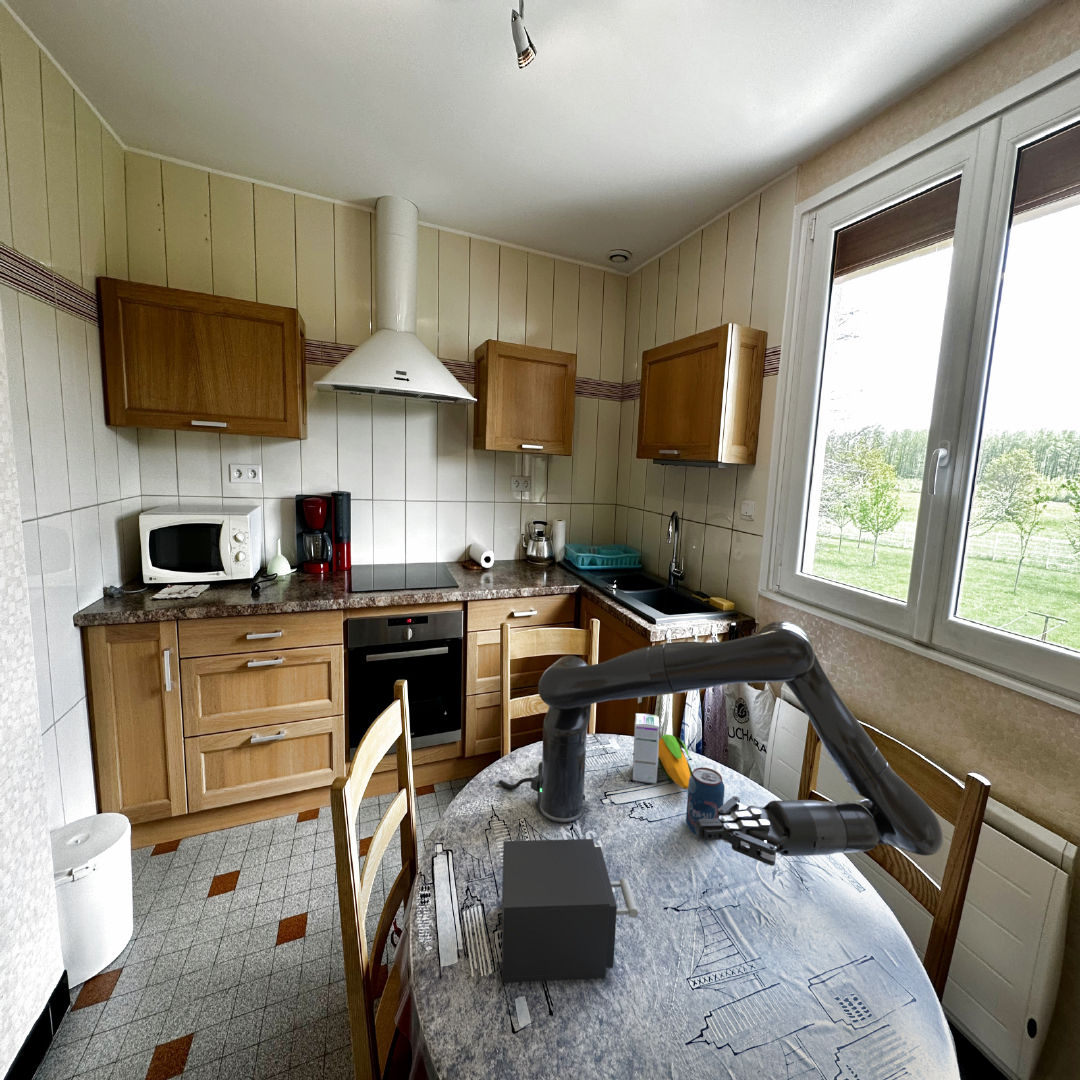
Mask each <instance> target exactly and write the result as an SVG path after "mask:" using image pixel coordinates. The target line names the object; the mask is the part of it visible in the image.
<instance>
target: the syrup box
mask: <svg viewBox="0 0 1080 1080" xmlns="http://www.w3.org/2000/svg"><path fill="white" fill-rule="evenodd" d="M633 734H634V735H633V736H634V737H633V755H632V757H633V758H632V759H633V760H632V780H633V781H635V782H640V783H647V784H655V785H656V784H657V780H658V767H659V766H658V765H659V761H658V749H659V740H660V717H659V715H656V714H650V713H638V712H637V713H635V719H634V733H633Z"/></svg>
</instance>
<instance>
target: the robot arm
mask: <svg viewBox="0 0 1080 1080" xmlns="http://www.w3.org/2000/svg"><path fill="white" fill-rule="evenodd" d="M744 683H745V684H747V683H749V684H751V683H785V685H786V686H787V687H788V689H790V691H791V692H792V693H793V695H794V697H795V698H796V700H797V701H798V702H799V704H800V705H801V707H802V709H803V710H804V713H805V714H806V715H807V717H808V719H809V721H810V723H811V725H812V727H813V729H814V730H815V732H816V734H817V737H818V738H819V739H820V741H821V743H822V746H823V748H824V749H825V750H826V752H827V754H828V755H829V757H830V759H831V760H832V761H833V763H834V764H835V766H836V768H837V769H838V771H839V772H840V773H841V775H842V777H843V779H844V780H845V781H846V782H847V784H848V785H849V787H850V788H851V789H852V790H853V791H854V793H856V794H858V795H859V796H860V797H862V798H861V799H856V800H852V801H846V800H845V801H844V800H838V801H837V800H836V801H835V800H833V801H830V800H829V801H824V800H822V801H821V800H815V799H793V800H792V799H789V800H784V799H783V800H771V801H769V802H768V803H767V804H766V805H765V806H763V807H761V806H756V805H749V806H747V805H745V804H742V803H741V799H740V797H739V796H735V795H733V796H732V797H730V798H729V799H728V800H727V801H725V802H724V803H723V805H722V806H721V807H720V808H719V809H718V816H717V818H716V819H699V820H697V821H696V823H695V832H696V834H697V835H698V837H697V838H698V839H700V840H706V841H722V842H724V843H726V844H730V845H731V850H733V851H734V852H737V853H739V854H742V855H744V856H746V857H749V858H752V859H754V860H757V861H758V862H761V863H762V864H766V865H768V866H770V867H774V866H775V865H776V860H777V859H776V858H777V854H779V855H780V856H783V857H804V856H807V857H808V856H830V855H834V854H841V853H843V854H844V853H845V854H846V853H849V854H850V853H864V852H869V851H872V850H875V848H876V847H877V845H884V846H891V847H894V848H897V849H900V850H904V851H906V852H909V853H911V854H915V855H918V856H925V857H928V856H933V855H935V854H937V853H938V852H940V850H941V849H942V847H943V845H944V832H943V828H942V825H941V823H940V821H939V819H938V817H937V815H936V814H935V812H934V811H933V809H932V808H931V807H930V806H929V805H928V804H927V802H926V801H925V800H923V798H922V797H921V796H920V795H919V794H918V793H917V792H916V791H915V790H914V789H913V788H912V787H911V786H910V785H909V784H908V783H907V782H906V781H905V780H904V779H903V778H902V777H901V776H899V775H898V774H897V773H896V772H895V771H894V770H893V768H892V767H891V765H890V764H889V763H888V761H887V759H886V758H885V757H884V755H883V753H882V752H881V751H880V749H879V748H878V747H877V745H876V743H875V742H874V741H873V739H872V738H871V736H870V735H869V734H868V733H867V731H866V730H865V729H864V727H863V726H862V724H861V723H860V721H858V719H857V718H856V717H855V715H854V714H853V713H852V711H851V710H850V708H849V707H848V706H847V705H846V703H845V702H844V700H843V699H842V697H841V696H840V694H839V692H837V690H836V689H835V687H834V685H833V683H831V681H830V679H829V677H828V676H827V674H826V672H825V671H824V669H823V667H822V664H821V663H820V661H819V659H818V657H817V655H816V652H815V649H814V647H813V643H812V640H811V638H810V637H809V635H808V633H807V632H806V631H805V630H804V629H802V627H800V626H798V625H797V624H795V623H793V622H790V621H785V620H775V621H771V622H769V623H766V624H765V625H764V626H763V627H762V628H761V629H759V632H758V633H755V634H750V635H747V636H744V637H743V636H742V637H739V638H735V639H730V640H724V641H718V642H717V641H716V642H706V641H673V642H671V641H670V642H665V643H660V644H654V645H648V646H644V647H643V646H642V647H639V648H637V649H634V650H630V651H628V652H626V653H623V654H620V655H617V656H616V657H614V658H610V659H608V660H605V661H603V662H600V663H599V662H598V663H596V664H588V663H587V662H586V661H585V660H583V658H580V657H579V656H576V655H565V656H562V657H560V658H559V659H558V660H556V661H555V662H553V663H552V664H551V665H550V666H549V667H548V668H547V669H545V670H544V672H543V673H542V675H541V676H540V678H539V681H538V685H537V686H538V687H537V691H538V695H539V698H540V699H541V700H542V702H543V703H544V704H545V705H547V706H548V708H547V712H546V713H545V716H544V719H543V722H542V723H543V724H542V725H543V726H542V727H543V728H542V754H541V761H540V762H539V763H538V766H537V767H538V768H537V775H535V776H532V777H531V776H530V777H524V778H521V779H520V780H518V781H517V782H516V783H515V784H509V783H507V782H505V781H504V780H502V779H499V781H498V784H499V785H501V786H503V787H504V788H506V789H509V790H516V789H518V788H519V787H520V786H521V785H522V784H524V783H530V789H531V790H533V791H535V792H536V793H537V795H536V796H537V797H536V805H537V806H538V807H539V811H540V812H541V814H542V815H543V816H544V817H545V818H546V819H548V820H550V821H552V822H557V823H571V822H574V821H577V820H578V819H579V818H580V817H582V815H583V814H584V802H586V795H585V775H586V758H587V757H586V752H587V734H588V732H587V731H588V726H589V722H590V719H591V711H592V705H594V704H597V703H601V702H602V703H603V702H608V701H616V700H627V699H636V698H637V699H638V698H644V697H656V696H657V697H658V696H665V695H673V694H681V693H686V692H691V691H692V692H693V691H697V690H705V689H711V688H714V687H720V686H725V685H730V684H732V685H733V684H744Z"/></svg>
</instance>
